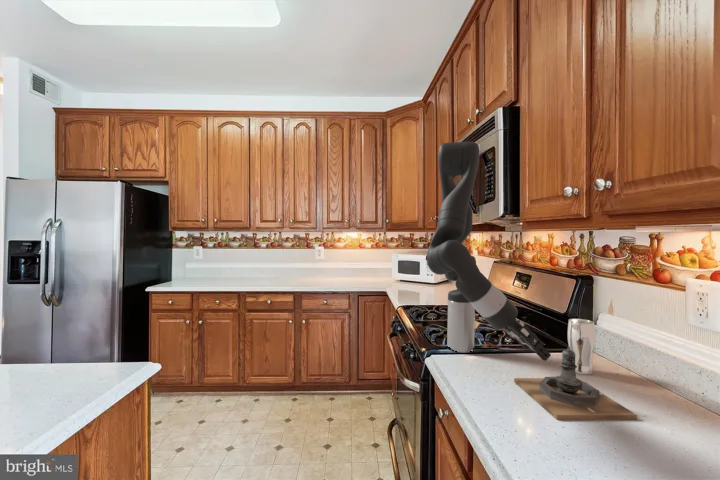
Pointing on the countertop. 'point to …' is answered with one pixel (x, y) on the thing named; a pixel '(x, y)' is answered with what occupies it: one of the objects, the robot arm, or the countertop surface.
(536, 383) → the socket plate
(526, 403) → the countertop surface
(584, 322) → the beer glass
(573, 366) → the grey turned stone piece
